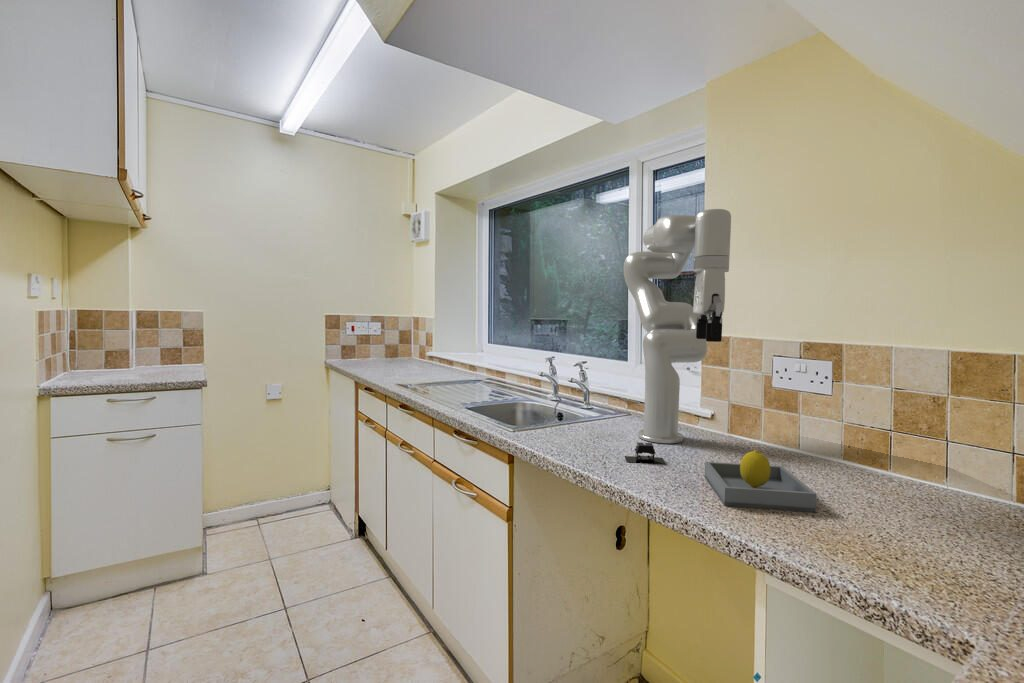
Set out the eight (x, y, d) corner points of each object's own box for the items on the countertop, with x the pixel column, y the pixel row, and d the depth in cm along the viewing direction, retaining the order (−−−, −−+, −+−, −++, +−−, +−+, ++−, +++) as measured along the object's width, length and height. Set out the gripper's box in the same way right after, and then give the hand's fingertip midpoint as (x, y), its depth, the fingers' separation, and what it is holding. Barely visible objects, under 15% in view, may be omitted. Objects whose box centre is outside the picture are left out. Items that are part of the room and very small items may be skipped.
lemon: (775, 490, 98) (777, 451, 97) (758, 495, 95) (760, 455, 94) (750, 481, 102) (751, 444, 102) (733, 486, 100) (735, 448, 99)
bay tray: (704, 476, 107) (705, 461, 107) (781, 481, 105) (782, 466, 105) (724, 505, 92) (725, 487, 91) (815, 512, 89) (816, 493, 89)
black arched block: (667, 459, 122) (668, 441, 121) (673, 468, 115) (674, 449, 114) (617, 456, 123) (618, 439, 123) (620, 466, 116) (621, 447, 116)
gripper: (686, 268, 119) (683, 337, 120) (702, 261, 102) (699, 342, 103) (718, 268, 118) (715, 338, 119) (740, 261, 101) (736, 343, 102)
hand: (708, 340), depth 111 cm, fingers open, 9 cm apart
